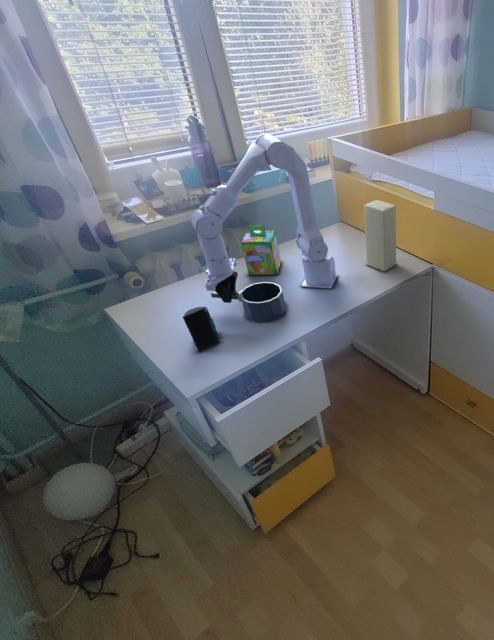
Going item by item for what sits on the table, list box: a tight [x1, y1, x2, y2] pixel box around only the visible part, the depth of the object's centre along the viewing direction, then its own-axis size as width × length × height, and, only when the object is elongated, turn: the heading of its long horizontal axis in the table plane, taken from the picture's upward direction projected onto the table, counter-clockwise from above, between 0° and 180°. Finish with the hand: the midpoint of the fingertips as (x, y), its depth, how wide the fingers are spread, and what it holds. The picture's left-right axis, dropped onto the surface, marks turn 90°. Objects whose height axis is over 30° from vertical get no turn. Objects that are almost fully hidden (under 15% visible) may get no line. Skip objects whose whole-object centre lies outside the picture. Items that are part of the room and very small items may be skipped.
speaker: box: [182, 306, 220, 353], centre depth 109 cm, size 8×6×10 cm
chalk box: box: [240, 224, 282, 276], centre depth 137 cm, size 9×9×15 cm
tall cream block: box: [363, 199, 397, 272], centre depth 141 cm, size 8×7×21 cm
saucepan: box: [210, 281, 287, 323], centre depth 122 cm, size 20×11×6 cm, turn 85°
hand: (229, 299), depth 122 cm, fingers closed on saucepan, 2 cm apart
